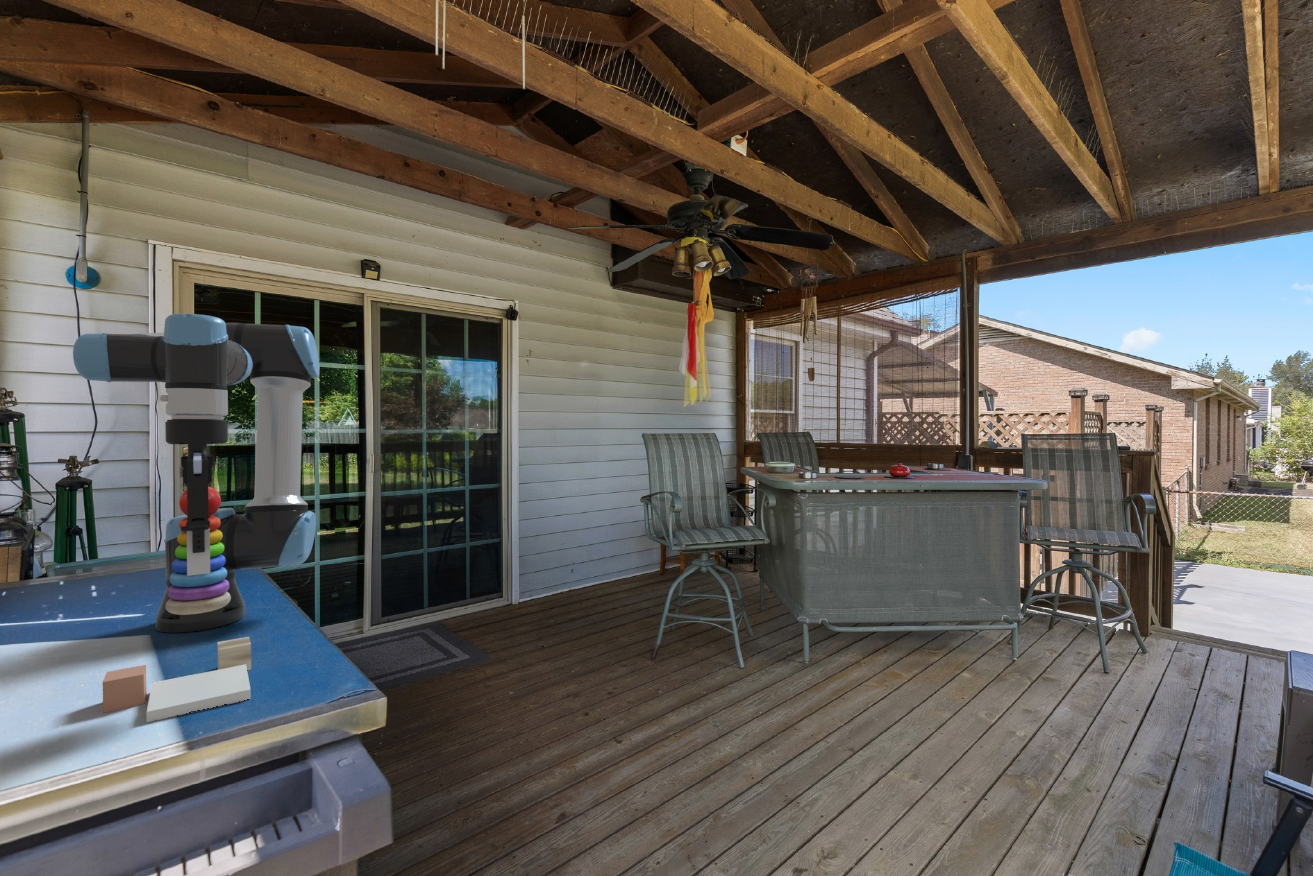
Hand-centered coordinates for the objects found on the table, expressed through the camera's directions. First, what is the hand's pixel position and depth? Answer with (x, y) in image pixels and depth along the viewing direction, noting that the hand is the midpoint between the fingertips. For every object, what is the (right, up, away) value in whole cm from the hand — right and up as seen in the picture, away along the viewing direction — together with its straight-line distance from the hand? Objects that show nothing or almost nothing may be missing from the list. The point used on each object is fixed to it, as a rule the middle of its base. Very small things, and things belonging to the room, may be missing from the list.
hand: (199, 569), depth 92 cm
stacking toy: (0, -6, 0) cm, 6 cm away
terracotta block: (-10, -20, -2) cm, 22 cm away
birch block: (-2, -19, +11) cm, 22 cm away
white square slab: (0, -19, 0) cm, 20 cm away
